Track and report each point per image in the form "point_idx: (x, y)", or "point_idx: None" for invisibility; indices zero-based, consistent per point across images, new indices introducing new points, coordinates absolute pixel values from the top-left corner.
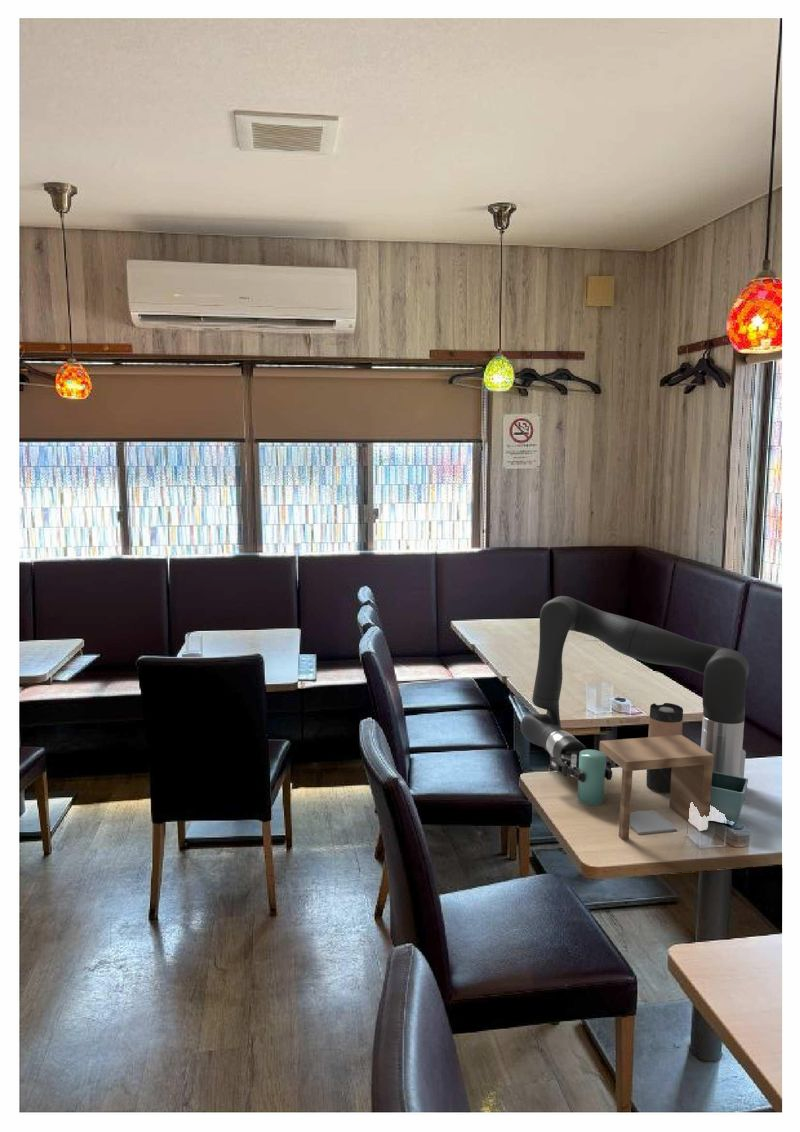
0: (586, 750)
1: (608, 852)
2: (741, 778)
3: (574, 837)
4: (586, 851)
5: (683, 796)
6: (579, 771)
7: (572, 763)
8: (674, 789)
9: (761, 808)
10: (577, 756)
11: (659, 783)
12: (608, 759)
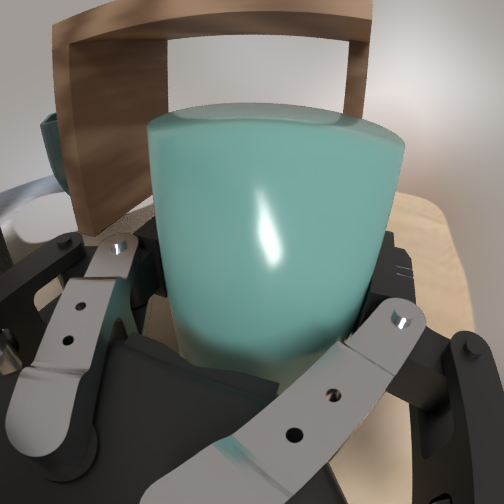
0: (256, 146)
1: (398, 206)
2: (51, 115)
3: (446, 252)
4: (436, 221)
5: (126, 156)
6: (393, 250)
7: (385, 360)
8: (97, 171)
9: (20, 189)
10: (131, 502)
11: (7, 257)
12: (24, 263)
